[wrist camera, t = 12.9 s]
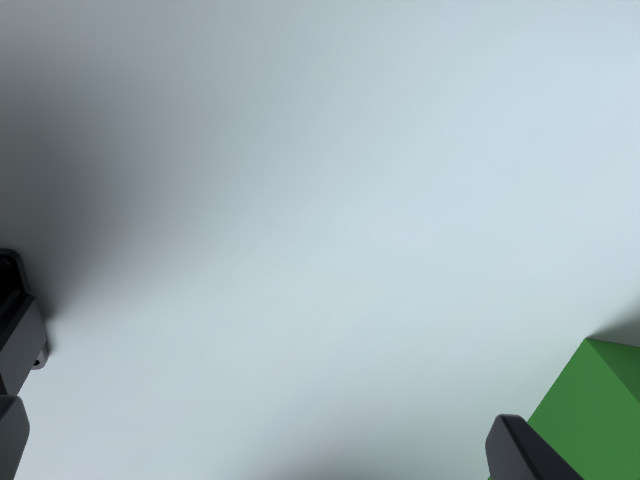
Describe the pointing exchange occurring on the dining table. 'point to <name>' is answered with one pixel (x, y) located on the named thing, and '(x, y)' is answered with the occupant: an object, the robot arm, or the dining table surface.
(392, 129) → the dining table surface
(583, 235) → the dining table surface
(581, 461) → the hardback book
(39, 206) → the dining table surface
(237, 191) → the dining table surface
